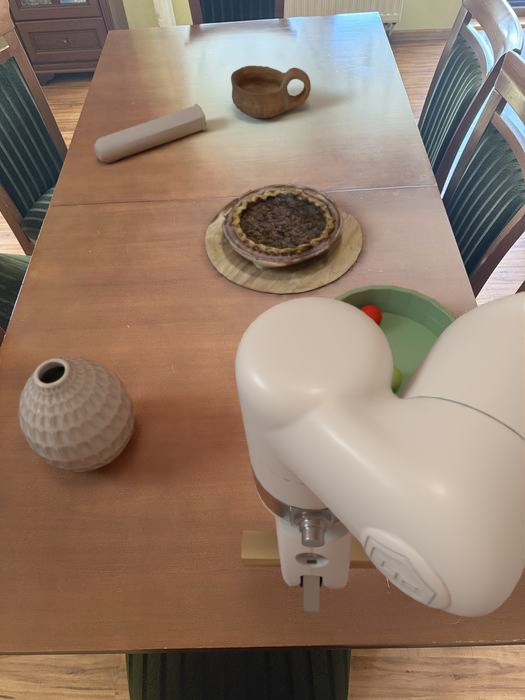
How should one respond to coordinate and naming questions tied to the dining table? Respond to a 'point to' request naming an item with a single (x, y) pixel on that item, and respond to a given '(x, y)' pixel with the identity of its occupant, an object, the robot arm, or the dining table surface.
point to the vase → (76, 413)
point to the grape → (396, 379)
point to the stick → (265, 551)
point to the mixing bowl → (404, 322)
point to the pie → (283, 239)
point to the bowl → (267, 90)
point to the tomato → (373, 313)
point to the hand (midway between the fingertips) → (309, 552)
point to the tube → (150, 134)
